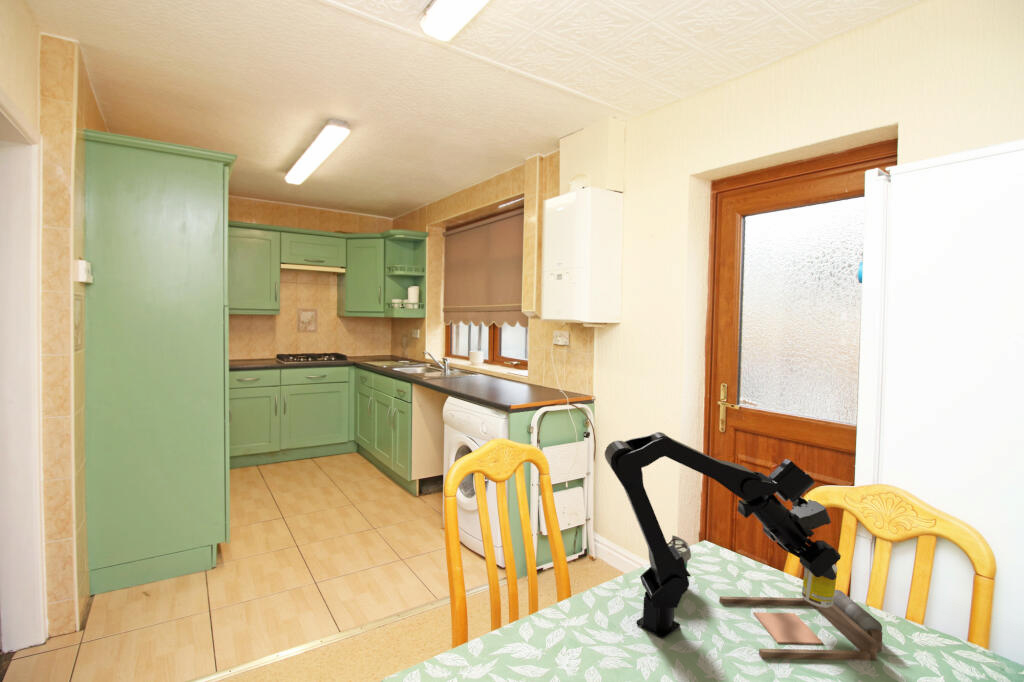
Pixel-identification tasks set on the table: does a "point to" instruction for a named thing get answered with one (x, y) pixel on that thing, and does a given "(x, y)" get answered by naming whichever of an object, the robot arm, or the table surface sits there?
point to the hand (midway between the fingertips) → (825, 571)
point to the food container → (681, 548)
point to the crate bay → (795, 631)
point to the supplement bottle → (819, 589)
